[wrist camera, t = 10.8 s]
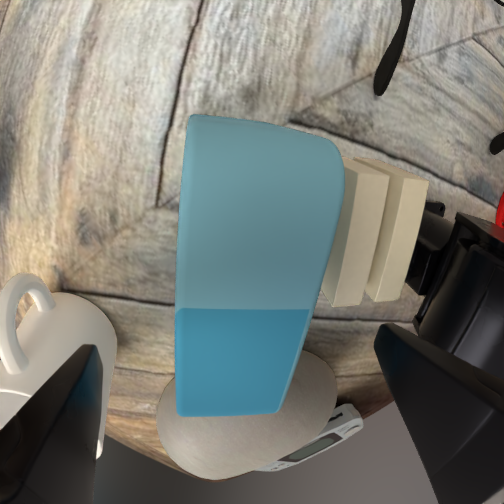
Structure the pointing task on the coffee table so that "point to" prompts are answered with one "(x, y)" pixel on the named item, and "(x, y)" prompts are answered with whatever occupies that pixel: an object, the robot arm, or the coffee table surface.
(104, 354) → the mug
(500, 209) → the ornament
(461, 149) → the coffee table surface
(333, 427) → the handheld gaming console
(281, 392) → the data package
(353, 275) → the cream books
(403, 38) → the glasses
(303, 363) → the white rounded slab
